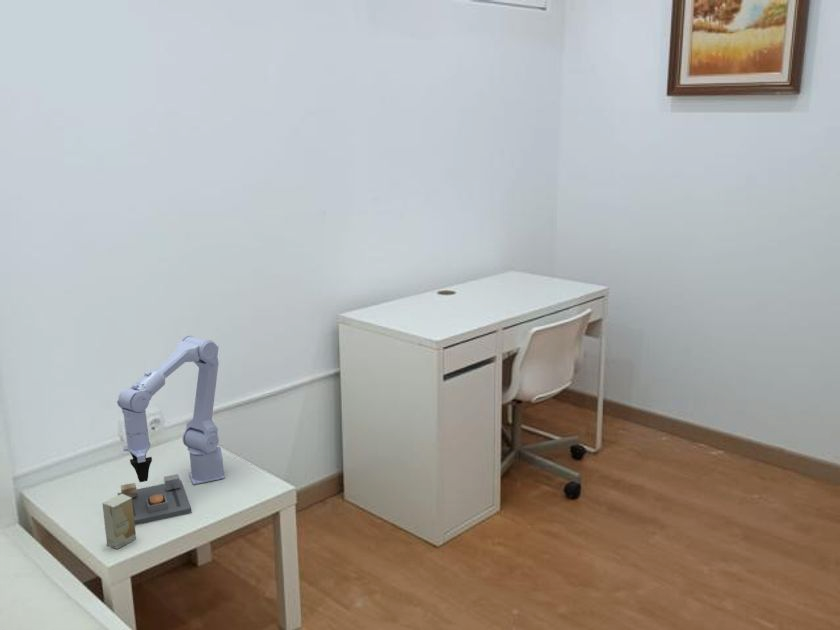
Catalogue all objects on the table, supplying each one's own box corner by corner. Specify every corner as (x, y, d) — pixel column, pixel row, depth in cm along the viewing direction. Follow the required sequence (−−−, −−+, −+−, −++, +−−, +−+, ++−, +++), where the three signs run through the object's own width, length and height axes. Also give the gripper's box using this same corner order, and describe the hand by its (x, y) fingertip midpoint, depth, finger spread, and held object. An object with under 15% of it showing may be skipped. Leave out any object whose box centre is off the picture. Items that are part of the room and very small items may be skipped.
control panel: (181, 484, 235) (180, 474, 234) (191, 512, 219) (190, 501, 218) (118, 497, 228) (116, 487, 227) (123, 527, 212) (122, 516, 211)
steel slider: (178, 483, 232) (177, 473, 231) (180, 487, 229) (179, 478, 228) (164, 485, 230) (163, 476, 229) (166, 490, 228) (165, 481, 227)
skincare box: (117, 550, 202) (111, 507, 198) (106, 545, 204) (100, 503, 201) (137, 538, 207) (132, 497, 204) (127, 533, 209) (121, 492, 206)
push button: (162, 498, 222) (162, 493, 221) (164, 503, 219) (163, 498, 218) (149, 500, 220) (148, 495, 220) (150, 506, 217) (150, 501, 217)
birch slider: (136, 491, 227) (135, 482, 226) (137, 496, 224) (136, 487, 224) (121, 494, 225) (120, 485, 225) (122, 499, 223) (121, 490, 222)
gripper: (119, 423, 220) (125, 467, 224) (123, 443, 208) (129, 489, 211) (145, 418, 223) (150, 462, 227) (151, 438, 210) (156, 484, 214)
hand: (142, 475), depth 219 cm, fingers open, 7 cm apart
